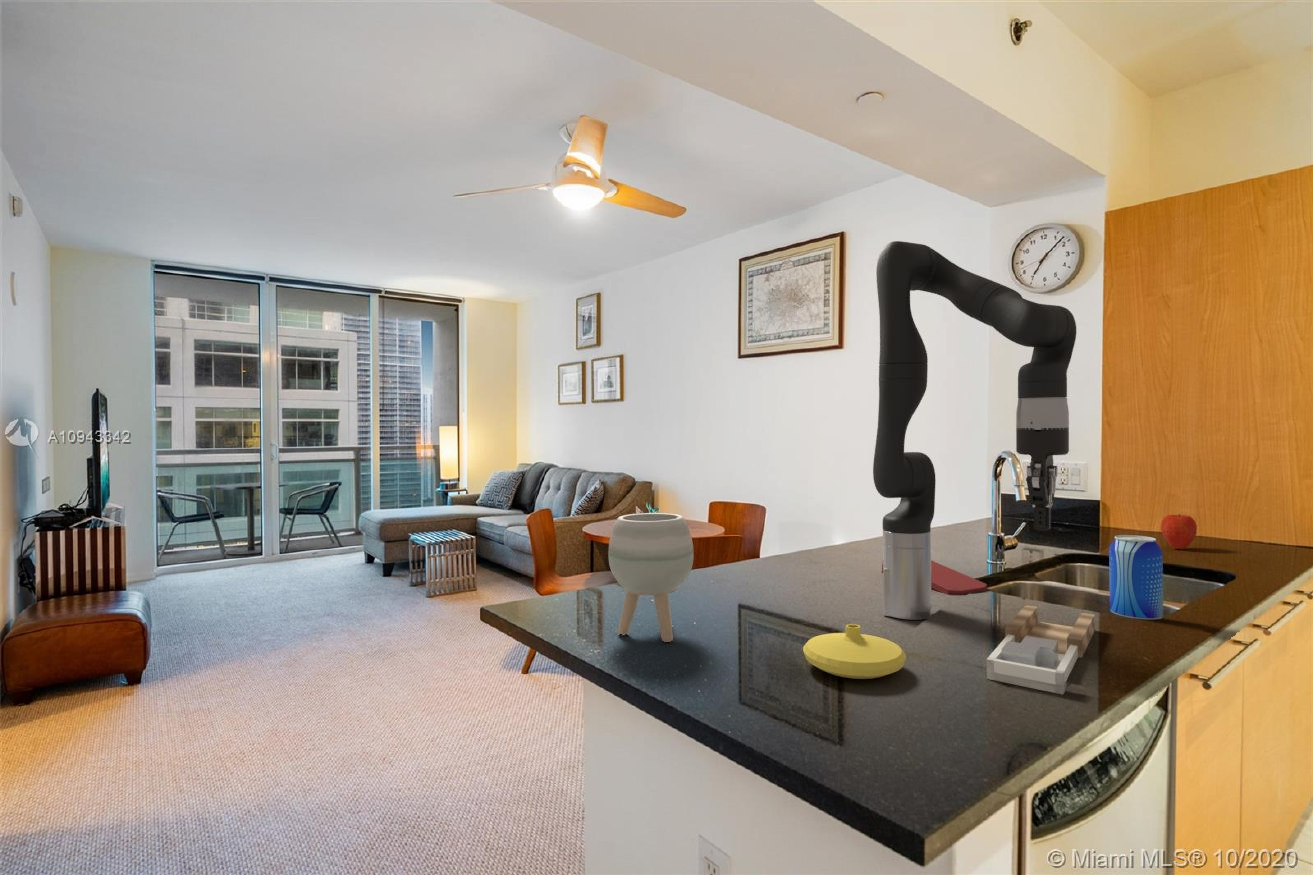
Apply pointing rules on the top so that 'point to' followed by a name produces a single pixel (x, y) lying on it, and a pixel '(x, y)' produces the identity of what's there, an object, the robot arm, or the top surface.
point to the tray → (1032, 670)
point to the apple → (1179, 530)
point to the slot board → (1052, 630)
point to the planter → (650, 562)
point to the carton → (952, 581)
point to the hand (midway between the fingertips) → (1042, 529)
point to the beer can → (1136, 577)
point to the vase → (854, 654)
